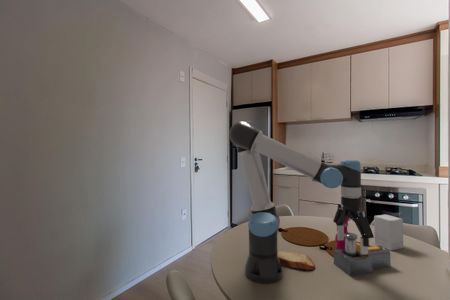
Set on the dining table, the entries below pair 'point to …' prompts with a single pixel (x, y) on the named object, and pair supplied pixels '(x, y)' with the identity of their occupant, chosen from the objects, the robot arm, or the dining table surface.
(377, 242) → the supplement box
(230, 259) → the dining table surface
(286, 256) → the bread slice
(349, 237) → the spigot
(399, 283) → the dining table surface
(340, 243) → the pepper mill
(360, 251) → the lock pin
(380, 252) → the dock
